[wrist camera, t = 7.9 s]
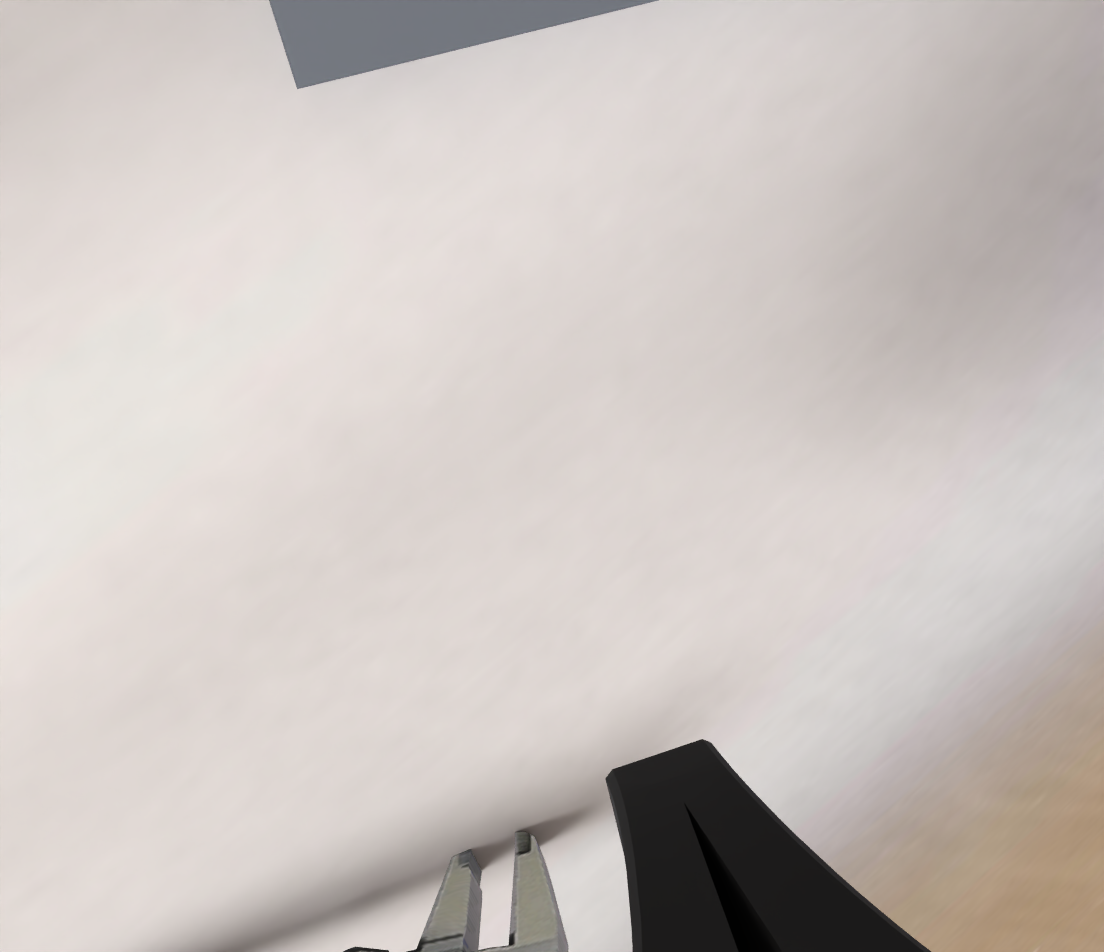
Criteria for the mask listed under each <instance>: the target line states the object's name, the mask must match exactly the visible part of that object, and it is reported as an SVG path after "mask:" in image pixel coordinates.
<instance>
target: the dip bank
mask: <svg viewBox="0 0 1104 952" xmlns="http://www.w3.org/2000/svg"><path fill="white" fill-rule="evenodd" d="M269 1H270V5H271V8H272V11H273V14H274V17H275V20H276V23H277V27H278V30H279V33H280V36H281V39H282V42H283V45H284V49H285V52H286V55H287V58H288V61H289V64H290V67H291V71H292V74H293V77H294V80H295V83H296V86H297V89H299V88H304V87H308V86H312V85H316V84H320V83H324V82H328V81H332V80H336V79H340V78H344V77H348V76H352V75H356V74H361V73H365V72H369V71H373V70H377V69H381V68H385V67H389V66H393V65H397V64H401V63H405V62H409V61H413V60H417V59H422V58H426V57H430V56H434V55H438V54H442V53H446V52H450V51H454V50H458V49H462V48H466V47H470V46H474V45H479V44H483V43H487V42H491V41H495V40H499V39H503V38H507V37H511V36H515V35H519V34H523V33H527V32H531V31H536V30H540V29H544V28H548V27H552V26H556V25H560V24H564V23H568V22H572V21H576V20H580V19H584V18H588V17H593V16H597V15H601V14H605V13H609V12H613V11H617V10H621V9H625V8H629V7H633V6H637V5H641V4H645V3H650V2H654V1H658V0H269Z"/></svg>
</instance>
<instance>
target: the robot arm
mask: <svg viewBox="0 0 1104 952" xmlns="http://www.w3.org/2000/svg"><path fill="white" fill-rule="evenodd" d="M606 783H607V787H608V791H609V795H610V799H611V803H612V807H613V811H614V815H615V819H616V823H617V827H618V831H619V835H620V839H621V843H622V848H623V852H624V856H625V863H626V870H627V880H628V891H629V903H630V914H631V926H632V943H633V952H931V951H930V950H928V949H927V948H926V947H924V946H923V945H922V944H921V943H919V942H918V941H917V940H915V939H914V938H913V937H912V936H910V935H909V934H908V933H907V932H905V931H904V930H903V929H902V928H901V927H899V926H898V925H897V924H896V923H894V922H893V921H892V920H891V919H890V918H888V917H887V916H886V915H885V914H884V913H882V912H881V911H880V910H879V909H878V908H876V907H875V906H874V905H873V904H872V903H871V902H869V901H868V900H867V899H866V898H865V897H863V896H862V895H861V894H860V893H859V892H858V891H856V890H855V889H854V888H853V887H852V886H851V885H850V884H848V883H847V882H846V881H845V880H844V879H843V878H842V877H841V876H839V875H838V874H837V873H836V872H835V871H834V870H833V869H832V868H831V867H830V866H829V865H827V864H826V863H825V862H824V861H823V860H822V859H821V858H820V857H819V856H818V855H817V854H816V853H815V852H814V851H812V850H811V849H810V848H809V847H808V846H807V845H806V844H805V843H804V842H803V841H802V840H801V839H800V838H799V837H797V836H796V835H795V834H794V833H793V832H792V831H791V830H790V829H789V828H788V827H787V826H786V825H785V824H784V823H783V822H782V821H781V820H780V819H779V818H778V817H777V816H776V815H775V814H774V813H773V812H772V811H771V810H770V809H769V808H768V807H767V805H766V804H765V803H764V802H763V801H762V800H761V799H760V798H759V797H758V796H757V795H756V794H755V793H754V792H753V791H752V790H751V789H750V788H749V786H748V785H747V784H746V783H745V782H744V781H743V780H742V779H741V778H740V777H739V775H738V774H737V773H736V772H735V771H734V770H733V769H732V767H731V766H730V765H729V764H728V763H727V762H726V760H725V759H724V758H723V757H722V756H721V754H720V753H719V752H718V751H717V750H716V748H715V747H714V746H713V744H712V743H710V742H708V741H706V740H703V739H701V740H699V741H696V742H693V743H690V744H687V745H684V746H681V747H678V748H675V749H672V750H669V751H666V752H663V753H660V754H657V755H654V756H651V757H648V758H645V759H642V760H639V761H636V762H633V763H630V764H627V765H624V766H621V767H618V768H615V769H613V770H612V771H611V772H610V773H609V775H608V776H607V777H606Z"/></svg>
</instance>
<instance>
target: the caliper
mask: <svg viewBox="0 0 1104 952" xmlns="http://www.w3.org/2000/svg"><path fill="white" fill-rule="evenodd" d="M481 873H482V871H481V869H480V867H479V865H478V863H477V861H476V859H475V857H474V855H473V853H472V851H471V849H470V850H467V851H465V852H462V853H460V854H457V855H455V856H453V857H452V859H451V861H450V864H449V867H448V869H447V872H446V874H445V877H444V880H443V882H442V885H441V887H440V890H439V892H438V895H437V898H436V900H435V903H434V905H433V908H432V911H431V913H430V916H429V918H428V921H427V923H426V926H425V929H424V931H423V934H422V936H421V939H420V942H419V944H418V947H417V949H416V950H412V951H408V952H568V943H567V939H566V935H565V931H564V928H563V924H562V920H561V916H560V913H559V909H558V905H557V901H556V897H555V894H554V890H553V886H552V882H551V879H550V876H549V873H548V869H547V866H546V863H545V860H544V857H543V855H542V852H541V850H540V848H539V846H538V844H537V841H536V839H535V837H534V836H533V835H531V834H529V833H527V832H515V861H514V876H513V891H512V906H511V920H510V935H509V946H501V947H492V948H487V949H482V950H478V946H479V933H480V920H481V907H482V890H481V889H480V880H481ZM344 952H389V951H388V950H380V949H371V948H362V947H353V948H350V949H347V950H346V951H344Z"/></svg>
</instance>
